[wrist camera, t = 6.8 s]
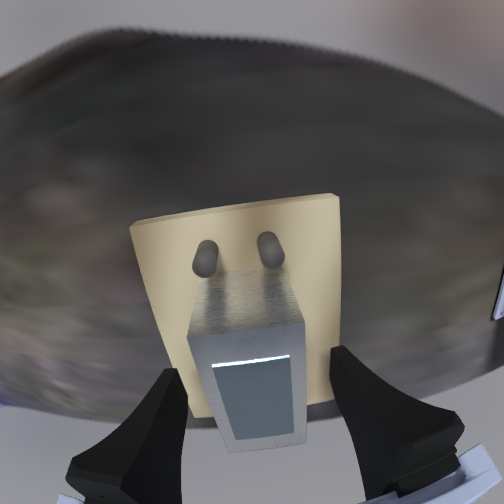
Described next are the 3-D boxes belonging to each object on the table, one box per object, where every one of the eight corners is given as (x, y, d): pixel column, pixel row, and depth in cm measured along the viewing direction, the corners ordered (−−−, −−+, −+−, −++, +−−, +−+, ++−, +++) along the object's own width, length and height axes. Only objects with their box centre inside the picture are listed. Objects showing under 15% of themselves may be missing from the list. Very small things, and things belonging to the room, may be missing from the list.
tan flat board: (330, 193, 14) (355, 206, 11) (330, 387, 19) (341, 419, 16) (136, 220, 14) (113, 240, 11) (196, 405, 19) (192, 439, 16)
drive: (282, 264, 14) (305, 323, 9) (291, 379, 17) (306, 443, 12) (200, 275, 14) (186, 338, 9) (228, 387, 17) (228, 453, 12)
